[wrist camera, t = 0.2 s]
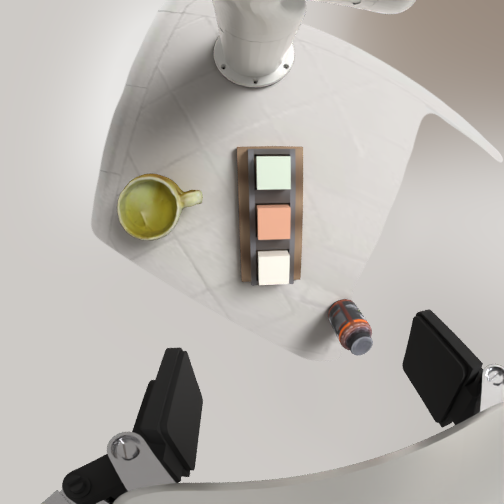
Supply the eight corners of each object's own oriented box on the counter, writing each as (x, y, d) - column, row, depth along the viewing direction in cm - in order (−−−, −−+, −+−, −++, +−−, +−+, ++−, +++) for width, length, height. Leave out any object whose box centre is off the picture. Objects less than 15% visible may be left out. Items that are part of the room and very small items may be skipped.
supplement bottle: (324, 324, 52) (341, 361, 42) (330, 298, 50) (349, 333, 40) (352, 323, 53) (372, 358, 42) (358, 297, 51) (382, 330, 40)
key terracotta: (256, 205, 41) (257, 208, 39) (287, 204, 41) (290, 207, 39) (257, 235, 42) (258, 239, 40) (287, 234, 42) (290, 239, 40)
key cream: (257, 251, 43) (258, 256, 41) (287, 250, 43) (289, 255, 41) (258, 278, 45) (259, 285, 43) (286, 277, 45) (288, 283, 43)
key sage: (255, 156, 38) (256, 156, 36) (287, 156, 38) (290, 156, 36) (256, 187, 40) (257, 189, 38) (288, 187, 40) (290, 189, 38)
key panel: (237, 147, 41) (236, 146, 38) (301, 147, 41) (306, 146, 38) (241, 278, 48) (241, 287, 45) (298, 276, 49) (302, 285, 45)
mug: (127, 241, 43) (112, 240, 34) (129, 180, 43) (117, 165, 33) (198, 240, 46) (202, 240, 37) (200, 180, 46) (204, 165, 36)
